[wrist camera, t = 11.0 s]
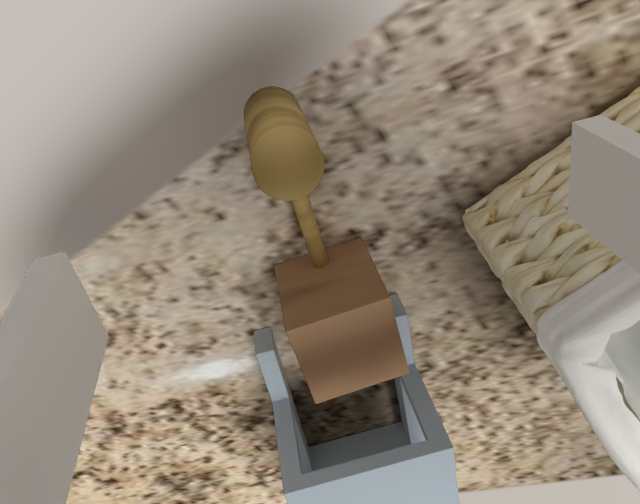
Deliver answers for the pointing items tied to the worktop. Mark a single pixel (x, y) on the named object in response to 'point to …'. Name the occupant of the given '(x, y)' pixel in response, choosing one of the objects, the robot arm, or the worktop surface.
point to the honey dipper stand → (321, 264)
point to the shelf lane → (364, 443)
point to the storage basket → (571, 291)
